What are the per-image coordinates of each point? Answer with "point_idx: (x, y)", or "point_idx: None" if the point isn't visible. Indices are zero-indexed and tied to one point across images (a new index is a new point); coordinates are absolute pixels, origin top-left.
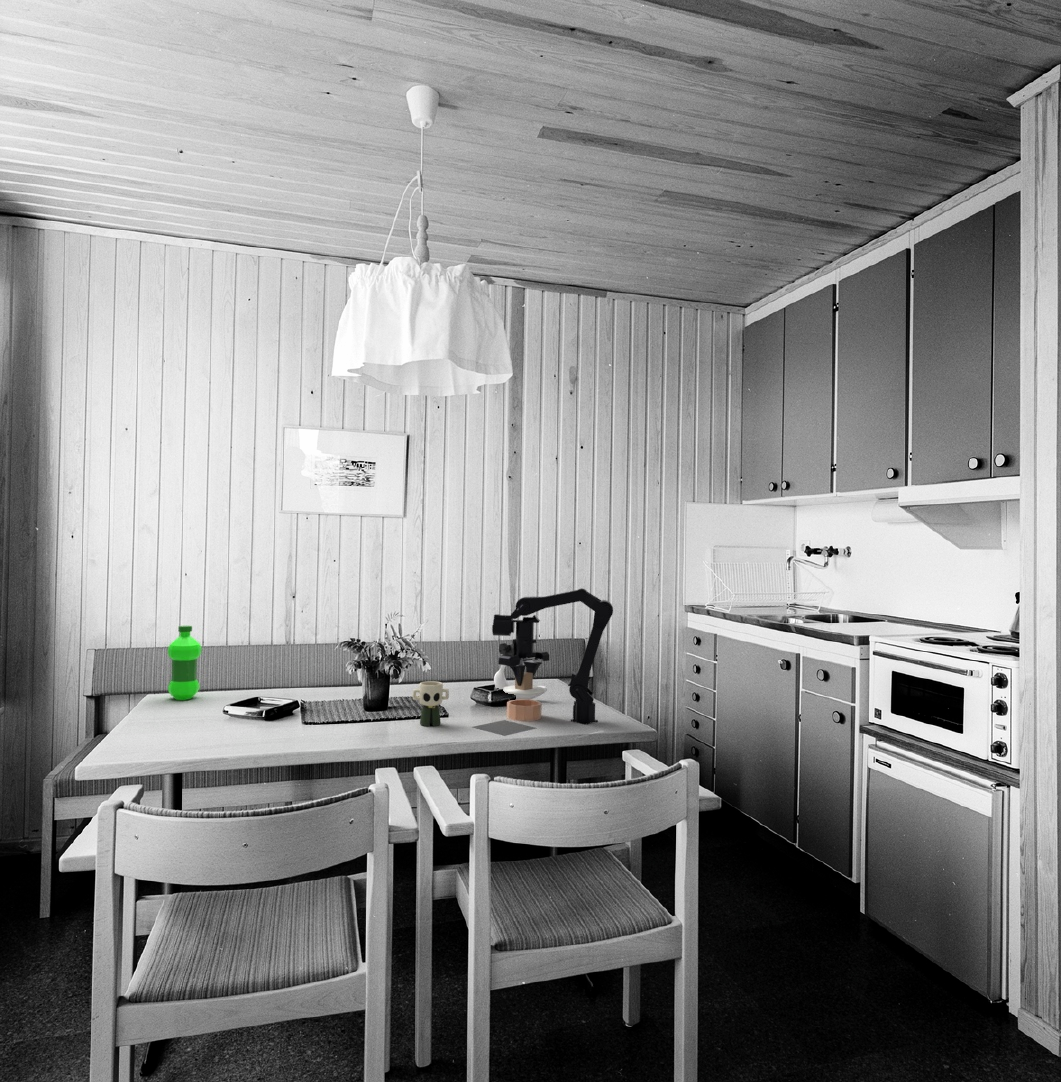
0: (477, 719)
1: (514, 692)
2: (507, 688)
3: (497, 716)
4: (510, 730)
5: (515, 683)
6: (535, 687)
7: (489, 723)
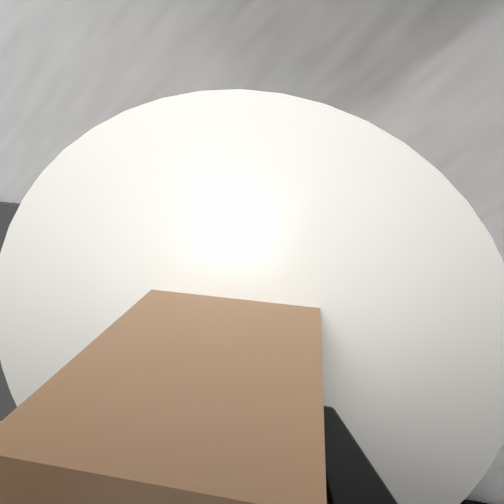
0: (46, 38)
1: (15, 395)
2: (86, 209)
3: (210, 74)
4: (4, 381)
5: (116, 330)
6: (405, 442)
7: (7, 210)
